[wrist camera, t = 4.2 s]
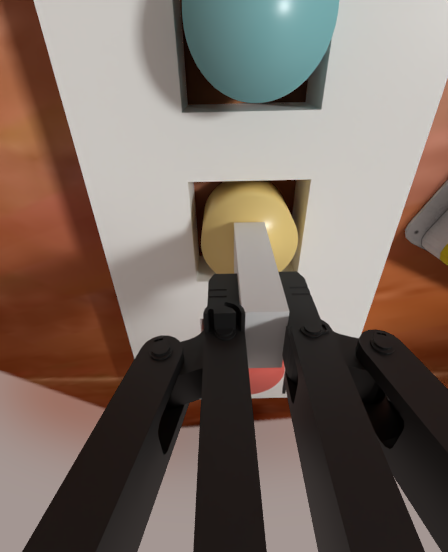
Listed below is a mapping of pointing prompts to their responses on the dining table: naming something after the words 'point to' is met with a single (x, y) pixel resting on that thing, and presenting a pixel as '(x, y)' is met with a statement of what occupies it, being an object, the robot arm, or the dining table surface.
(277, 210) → the ochre button
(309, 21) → the teal button
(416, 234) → the emergency button
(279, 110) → the button panel
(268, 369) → the red button
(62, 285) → the dining table surface
